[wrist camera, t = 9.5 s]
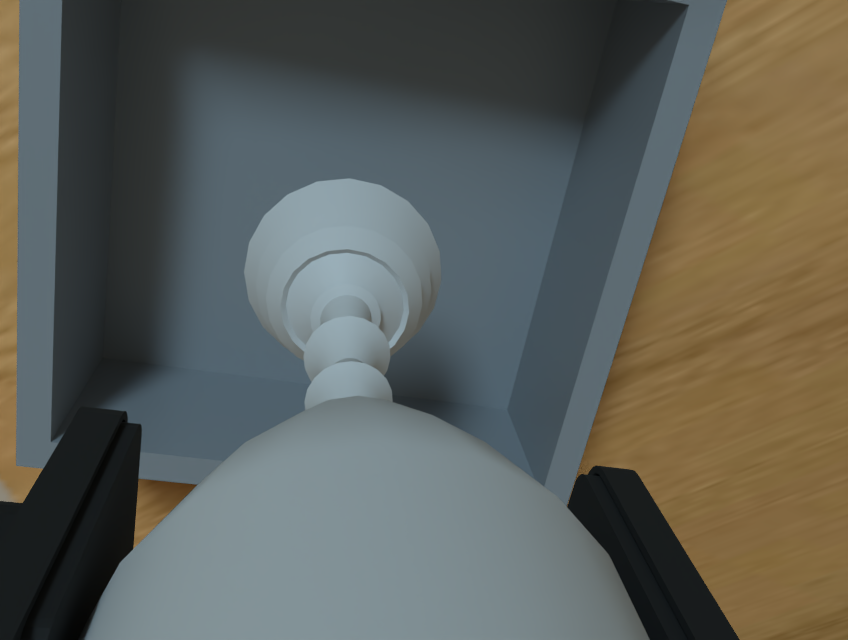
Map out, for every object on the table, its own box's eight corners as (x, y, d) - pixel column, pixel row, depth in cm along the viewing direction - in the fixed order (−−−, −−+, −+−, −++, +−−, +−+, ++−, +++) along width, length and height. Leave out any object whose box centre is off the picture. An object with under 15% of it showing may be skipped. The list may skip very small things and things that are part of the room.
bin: (643, -26, 28) (735, -27, 21) (519, 420, 34) (561, 522, 28) (102, -151, 25) (20, -196, 18) (81, 366, 31) (16, 465, 25)
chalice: (262, 88, 19) (-310, 948, 2) (522, 193, 20) (1367, 1144, 4) (172, 356, 21) (-429, 1757, 4) (411, 430, 23) (623, 1656, 6)
